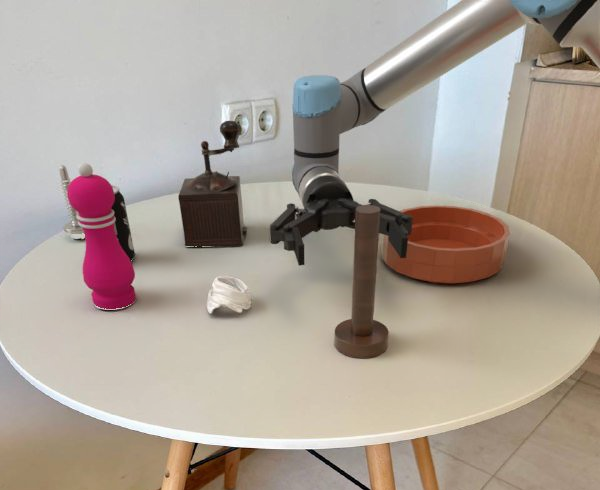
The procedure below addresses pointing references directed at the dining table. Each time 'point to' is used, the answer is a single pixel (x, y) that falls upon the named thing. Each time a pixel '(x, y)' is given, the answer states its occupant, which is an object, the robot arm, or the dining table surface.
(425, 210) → the bowl
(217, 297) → the white turban
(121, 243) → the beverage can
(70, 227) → the screw
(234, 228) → the manual coffee grinder
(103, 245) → the pepper mill
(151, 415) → the dining table surface
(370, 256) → the brown peg stand
